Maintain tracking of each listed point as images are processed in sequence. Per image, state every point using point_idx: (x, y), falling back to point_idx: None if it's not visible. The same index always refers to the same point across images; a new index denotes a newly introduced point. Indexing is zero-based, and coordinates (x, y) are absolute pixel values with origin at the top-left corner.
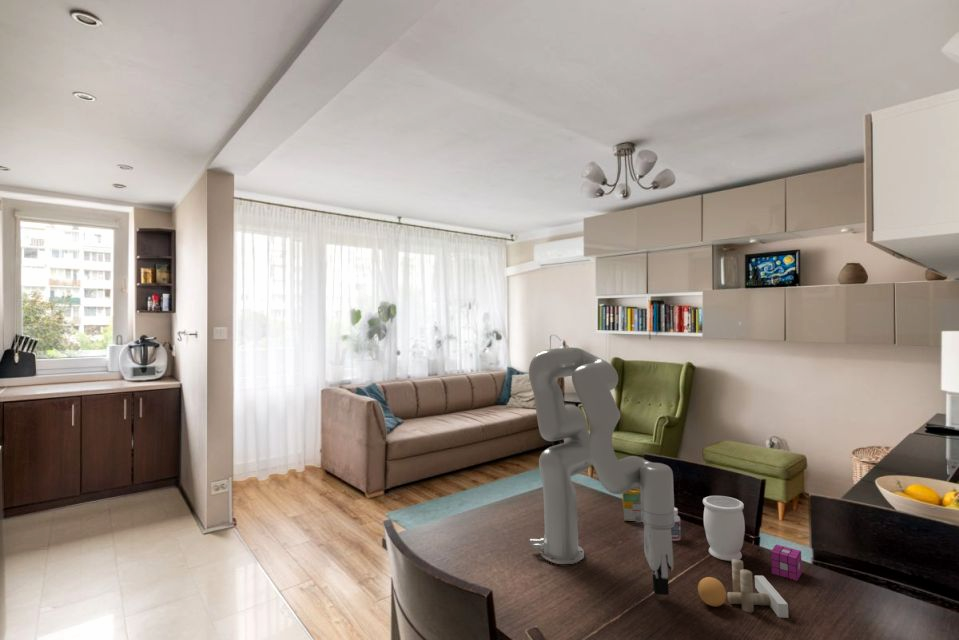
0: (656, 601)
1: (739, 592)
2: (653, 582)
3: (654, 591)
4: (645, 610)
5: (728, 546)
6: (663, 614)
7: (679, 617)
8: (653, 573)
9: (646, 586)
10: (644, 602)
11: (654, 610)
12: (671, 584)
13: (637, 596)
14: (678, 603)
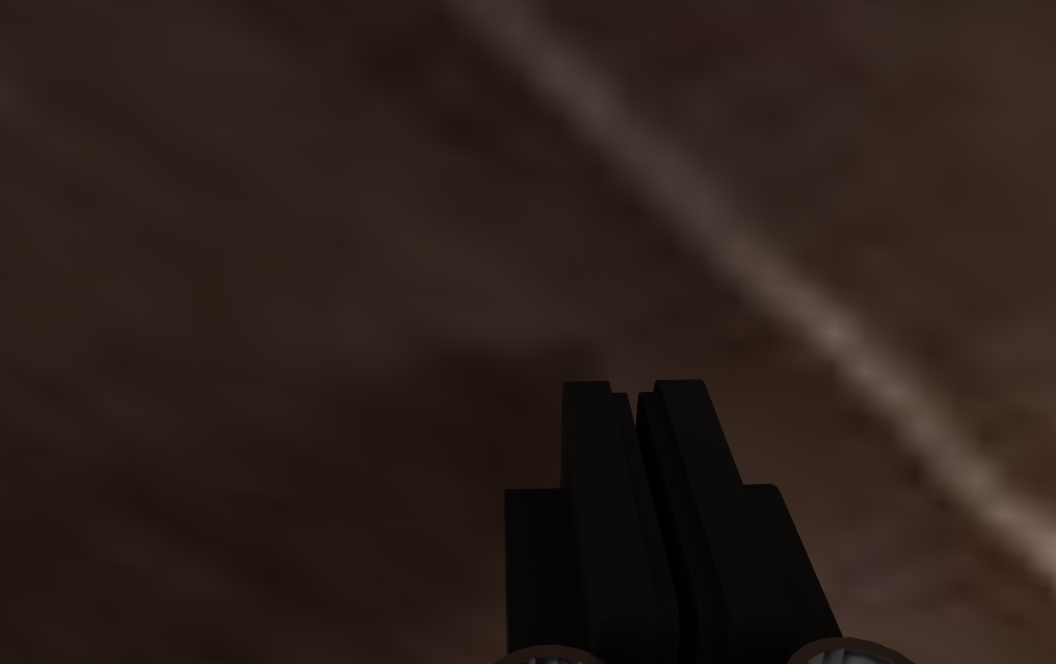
0: (529, 329)
1: None
2: (689, 486)
3: (582, 394)
4: (187, 74)
5: None
6: (140, 363)
7: (123, 560)
8: (815, 642)
9: (1035, 251)
10: (473, 108)
11: (228, 242)
12: (1028, 625)
13: (687, 2)
14: (503, 615)
